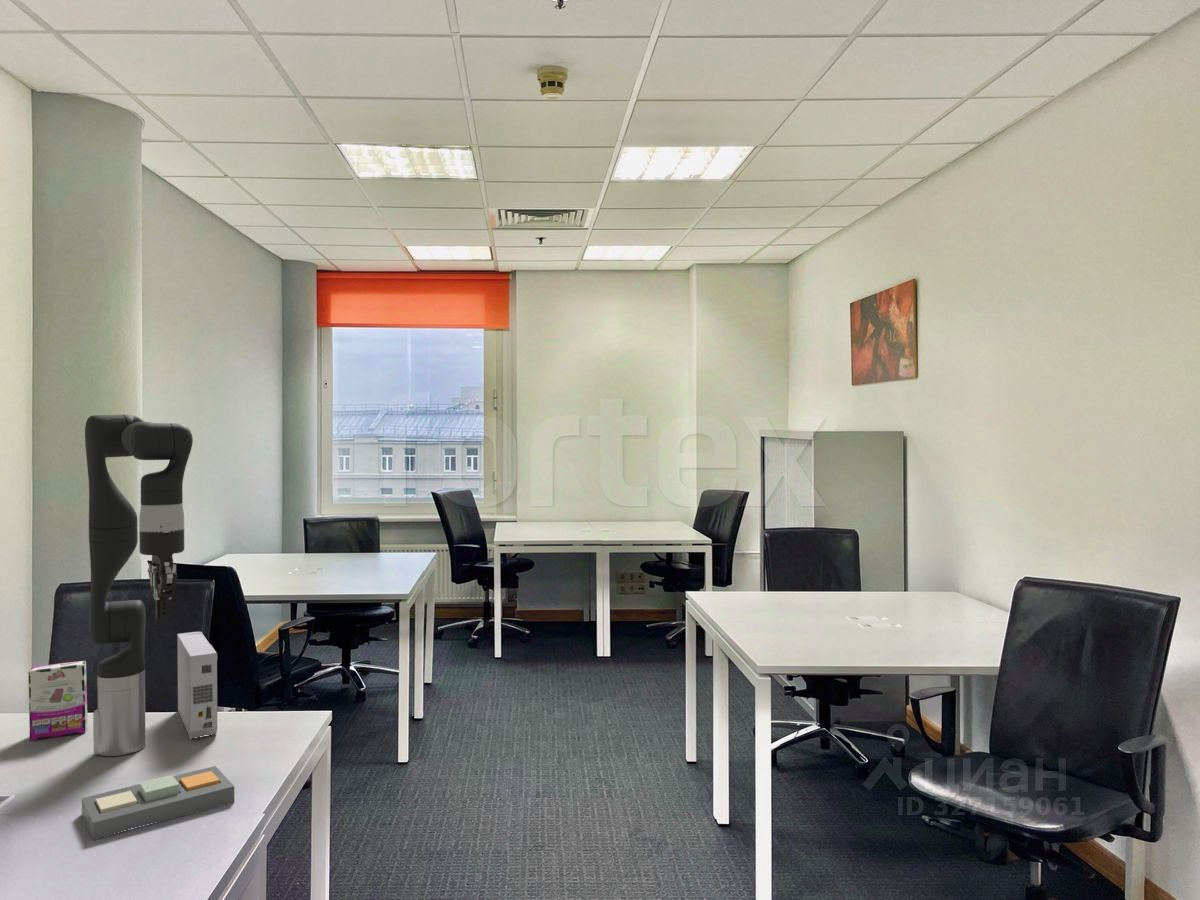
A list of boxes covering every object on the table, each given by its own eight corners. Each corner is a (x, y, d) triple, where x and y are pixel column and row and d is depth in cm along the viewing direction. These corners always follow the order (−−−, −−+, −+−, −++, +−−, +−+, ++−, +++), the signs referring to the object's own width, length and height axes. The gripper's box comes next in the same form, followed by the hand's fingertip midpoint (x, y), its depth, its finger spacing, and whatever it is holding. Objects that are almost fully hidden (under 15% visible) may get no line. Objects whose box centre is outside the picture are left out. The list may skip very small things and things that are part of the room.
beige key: (101, 820, 143) (101, 809, 143) (95, 810, 147) (95, 799, 147) (136, 811, 147) (136, 800, 147) (130, 801, 151) (130, 790, 151)
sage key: (145, 803, 147) (145, 792, 147) (139, 793, 152) (139, 782, 152) (179, 794, 151) (179, 784, 151) (172, 785, 155) (172, 774, 155)
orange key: (187, 798, 152) (187, 787, 152) (180, 788, 156) (180, 778, 156) (219, 790, 156) (219, 779, 156) (211, 780, 160) (211, 770, 160)
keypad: (93, 840, 139) (93, 822, 139) (81, 814, 149) (81, 798, 149) (234, 801, 154) (234, 786, 154) (215, 780, 164) (215, 765, 164)
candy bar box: (87, 727, 196) (87, 659, 196) (85, 733, 192) (85, 664, 192) (32, 734, 191) (31, 665, 191) (28, 741, 187) (28, 670, 187)
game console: (202, 707, 211) (202, 631, 211) (218, 737, 188) (218, 652, 188) (178, 711, 208) (177, 633, 208) (191, 743, 185) (190, 656, 185)
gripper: (132, 527, 156) (133, 616, 156) (147, 532, 146) (148, 628, 146) (175, 524, 161) (176, 611, 161) (192, 529, 151) (193, 622, 151)
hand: (162, 619), depth 153 cm, fingers closed
